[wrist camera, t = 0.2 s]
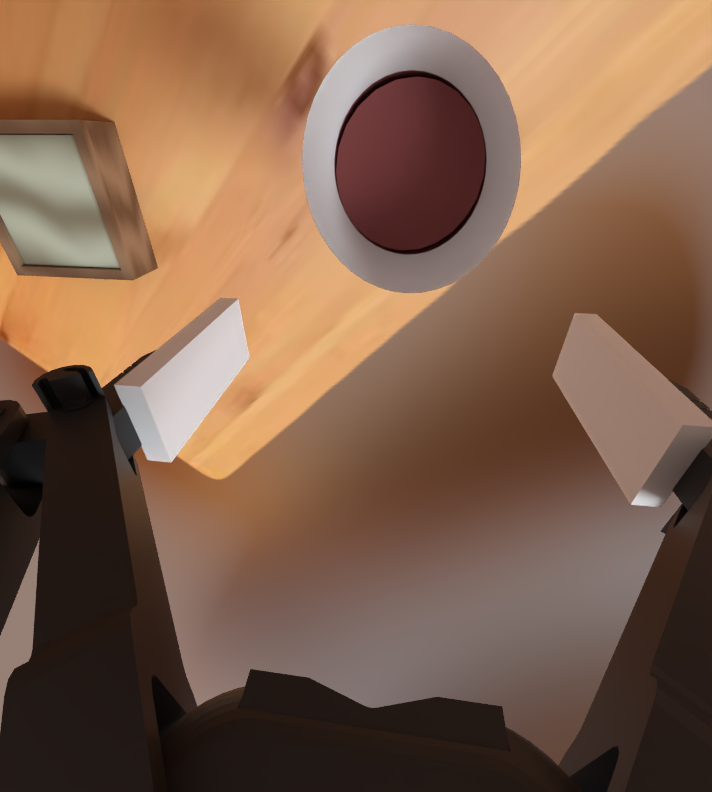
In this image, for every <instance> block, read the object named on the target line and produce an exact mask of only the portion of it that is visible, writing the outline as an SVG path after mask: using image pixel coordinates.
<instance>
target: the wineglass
mask: <svg viewBox="0 0 712 792" xmlns="http://www.w3.org/2000/svg"><path fill="white" fill-rule="evenodd" d="M302 167H303V181H304V186H305V192H306V197H307V201H308V204H309V207H310V210H311V214H312V217H313V219H314V221H315V223H316V226H317V228H318V230H319V232H320V234H321V236H322V237H323V239H324V240H325V242H326V244H327V245H328V247H329V248H330V250H331V251H332V252H333V253H334V254H335V256H336V257H337V258H338V259H339V260H340V262H342V263H343V264H344V265H345V266H346V267H347V268H348V269H349V270H350V271H351V272H353V273H354V274H356V275H357V276H359V277H360V278H362V279H363V280H364V281H367V282H369V283H371V284H373V285H375V286H377V287H380V288H383V289H386V290H390V291H394V292H402V293H422V292H427V291H432V290H436V289H439V288H442V287H444V286H447V285H450V284H451V283H453V282H455V281H457V280H459V279H460V278H462V277H464V276H465V275H466V274H468V273H469V272H470V271H471V270H473V269H474V268H475V267H476V266H477V265H478V264H479V263H480V262H481V261H482V260H483V259H484V258H485V257H486V256H487V255H488V254H489V252H490V251H491V250H492V248H493V247H494V245H495V244H496V243H497V241H498V240H499V238H500V236H501V234H502V232H503V230H504V229H505V227H506V225H507V223H508V220H509V217H510V215H511V212H512V209H513V207H514V204H515V199H516V195H517V191H518V186H519V179H520V168H521V148H520V137H519V131H518V125H517V120H516V116H515V113H514V110H513V107H512V104H511V101H510V98H509V96H508V94H507V92H506V90H505V88H504V86H503V84H502V82H501V80H500V78H499V76H498V75H497V74H496V72H495V71H494V70H493V68H492V67H491V66H490V64H489V63H488V62H487V60H486V59H485V58H484V57H483V56H482V55H481V54H480V53H479V52H478V51H476V50H475V49H474V48H473V47H472V46H471V45H470V44H469V43H467V42H465V41H464V40H462V39H460V38H459V37H457V36H455V35H454V34H452V33H450V32H447V31H444V30H441V29H438V28H435V27H432V26H424V25H413V24H409V25H401V26H394V27H389V28H386V29H383V30H381V31H378V32H375V33H373V34H370V35H369V36H367V37H366V38H364V39H363V40H361V41H359V42H358V43H356V44H355V45H353V46H352V47H351V48H350V49H349V50H348V51H347V52H346V53H345V54H344V55H343V56H341V57H340V58H339V59H338V60H337V62H336V63H335V64H334V66H333V67H332V68H331V70H330V71H329V72H328V74H327V75H326V76H325V78H324V80H323V82H322V84H321V86H320V88H319V89H318V91H317V93H316V95H315V97H314V100H313V103H312V106H311V109H310V112H309V115H308V118H307V123H306V128H305V133H304V138H303V153H302Z"/></svg>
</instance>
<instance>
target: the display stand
mask: <svg viewBox="0 0 712 792" xmlns="http://www.w3.org/2000/svg"><path fill="white" fill-rule="evenodd" d="M0 242H1V244H2V246H3V248H4V250H5V252H6V254H7V256H8V258H9V260H10V262H11V264H12V265H13V267H14V269H15V271H16V273H17V275H26V276H48V277H71V278H94V279H117V280H135V279H137V278H139V277H141V276H143V275H145V274H147V273H149V272H151V271H153V270H155V269H157V268H158V267H157V263H156V260H155V257H154V253H153V250H152V247H151V243H150V240H149V237H148V233H147V230H146V226H145V223H144V220H143V216H142V213H141V210H140V206H139V203H138V200H137V196H136V193H135V190H134V186H133V183H132V180H131V176H130V173H129V170H128V166H127V163H126V160H125V156H124V153H123V150H122V146H121V143H120V140H119V136H118V133H117V130H116V126H115V123H114V122H105V121H91V120H0Z"/></svg>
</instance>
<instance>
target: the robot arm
mask: <svg viewBox="0 0 712 792" xmlns="http://www.w3.org/2000/svg"><path fill="white" fill-rule="evenodd" d="M248 359H249V353H248V347H247V342H246V337H245V332H244V326H243V321H242V316H241V311H240V305H239V300H238V299H233V298H220V299H219V300H217V301H216V302H215V303H214V304H212V305H211V306H210V307H209V308H207V309H206V310H205V311H204V312H203V313H201V314H200V315H199V316H198V317H196V318H195V319H194V320H193V321H192V322H190V323H189V324H188V325H187V326H185V327H184V328H183V329H182V330H181V331H179V332H178V333H177V334H176V335H174V336H173V337H172V338H171V339H169V340H168V341H167V342H166V343H165V344H163V345H162V346H161V347H160V348H158V349H157V350H155V351H153V352H151V353H149V354H146V355H144V356H142V357H141V358H139V359H138V360H137V361H136V362H134V363H133V364H132V366H129V367H128V368H127V369H126V370H124V373H121V374H119V375H118V376H117V377H116V378H114V379H113V380H112V381H111V382H109V383H108V384H107V385H105V386H104V387H103V388H101V386H100V384H99V382H98V380H97V378H96V376H95V374H94V372H93V370H92V369H91V367H88V366H85V365H72V366H66V367H62V368H58V369H55V370H52V371H50V372H47V373H45V374H43V375H42V376H40V377H39V378H37V379H36V380H35V381H34V383H33V384H32V386H33V388H34V390H35V391H36V393H37V394H38V396H39V398H40V399H41V401H42V403H43V404H44V406H45V407H46V409H47V411H48V412H42V413H35V414H26V413H25V412H24V410H23V409H22V408H21V406H20V404H19V403H18V402H17V401H12V400H3V401H0V635H1V632H2V630H3V627H4V625H5V623H6V620H7V618H8V615H9V612H10V610H11V608H12V605H13V603H14V600H15V598H16V595H17V593H18V590H19V588H20V585H21V582H22V580H23V578H24V575H25V573H26V570H27V568H28V565H29V563H30V560H31V558H32V556H33V553H34V551H35V548H36V546H37V543H38V540H39V538H40V542H39V557H38V573H37V589H36V605H35V620H34V637H33V650H32V655H31V658H30V660H29V662H27V663H25V664H23V665H21V666H19V667H17V668H15V669H14V671H13V672H12V674H11V676H10V677H9V679H8V682H7V687H6V692H5V696H4V704H3V713H2V722H1V732H0V792H712V411H710V408H709V407H707V406H706V405H705V404H704V403H703V402H700V400H699V399H698V398H697V397H696V396H695V395H694V394H693V393H692V392H690V391H689V390H688V389H687V388H685V387H683V386H681V385H679V384H677V383H675V382H674V381H672V380H670V379H666V378H665V377H664V376H663V375H662V374H661V373H660V372H659V371H657V369H655V368H654V367H653V366H652V365H651V364H650V363H649V362H648V361H647V360H646V359H644V358H643V357H642V356H641V355H640V354H639V353H638V352H637V351H636V350H635V349H634V348H633V347H631V346H630V345H629V344H628V343H627V342H626V341H625V340H624V339H623V338H622V337H621V336H619V335H618V334H617V333H616V332H615V331H614V330H613V329H612V328H611V327H610V326H609V325H607V324H606V323H605V322H604V321H603V320H602V319H601V318H600V317H599V316H598V315H597V314H580V313H575V314H574V317H573V320H572V322H571V325H570V328H569V331H568V333H567V336H566V339H565V342H564V345H563V348H562V350H561V353H560V356H559V359H558V361H557V364H556V367H555V370H554V373H553V378H554V380H555V381H556V383H557V384H558V386H559V388H560V390H561V391H562V393H563V395H564V396H565V398H566V399H567V401H568V403H569V404H570V406H571V408H572V409H573V411H574V413H575V414H576V416H577V417H578V419H579V421H580V422H581V424H582V426H583V427H584V429H585V430H586V432H587V434H588V435H589V437H590V439H591V440H592V442H593V444H594V445H595V447H596V449H597V450H598V452H599V454H600V455H601V457H602V458H603V460H604V462H605V463H606V465H607V467H608V468H609V470H610V471H611V473H612V475H613V476H614V478H615V480H616V481H617V483H618V485H619V486H620V488H621V489H622V491H623V493H624V494H625V496H626V498H627V499H628V501H629V503H630V504H631V505H641V506H652V507H662V506H663V504H664V503H665V501H666V500H667V499H668V497H669V496H670V495H671V493H672V492H674V493H675V494H676V496H677V497H678V498H679V500H680V501H681V502H682V504H681V506H680V507H679V508H678V510H677V511H676V512H675V514H674V515H673V516H672V517H671V518H670V520H669V521H668V522H667V524H666V525H665V526H664V527H663V529H662V530H661V532H663V533H665V537H664V539H663V542H662V544H661V546H660V548H659V550H658V553H657V555H656V557H655V560H654V562H653V564H652V567H651V569H650V571H649V573H648V576H647V578H646V580H645V583H644V585H643V587H642V590H641V592H640V594H639V597H638V599H637V601H636V603H635V606H634V608H633V610H632V613H631V615H630V617H629V619H628V622H627V624H626V627H625V629H624V631H623V633H622V635H621V638H620V640H619V642H618V645H617V647H616V649H615V652H614V654H613V656H612V659H611V661H610V663H609V666H608V668H607V670H606V672H605V675H604V677H603V679H602V681H601V684H600V686H599V688H598V691H597V693H596V695H595V698H594V700H593V702H592V704H591V707H590V709H589V711H588V714H587V716H586V718H585V721H584V723H583V725H582V727H581V729H580V731H579V733H578V735H577V737H576V738H575V740H574V741H573V743H572V744H571V746H570V747H569V749H568V750H567V752H566V753H565V755H564V757H563V758H562V760H561V762H560V764H559V766H558V765H557V764H556V763H555V762H554V761H553V760H552V759H551V758H550V757H549V756H548V755H546V754H545V753H544V752H543V751H541V750H540V749H539V748H538V747H536V746H535V745H534V744H533V743H531V742H530V741H529V740H527V739H525V738H524V737H522V736H521V735H519V734H518V733H516V732H515V731H513V730H511V729H509V728H507V727H505V721H504V716H503V709H502V706H495V705H488V704H481V703H474V702H467V701H461V700H455V699H447V698H441V697H434V698H429V699H424V700H418V701H412V702H406V703H401V704H395V705H390V706H384V707H379V708H369V707H366V706H363V705H361V704H359V703H357V702H355V701H354V700H352V699H350V698H348V697H346V696H344V695H342V694H340V693H338V692H336V691H334V690H332V689H330V688H328V687H326V686H324V685H322V684H320V683H318V682H316V681H314V680H312V679H310V678H307V677H300V676H293V675H287V674H280V673H273V672H266V671H259V670H253V669H251V670H250V673H249V676H248V679H247V682H246V686H245V687H241V688H237V689H234V690H231V691H228V692H225V693H222V694H220V695H218V696H216V697H214V698H212V699H210V700H208V701H206V702H204V703H203V704H201V705H199V706H198V707H197V704H196V701H195V698H194V695H193V692H192V690H191V687H190V685H189V682H188V680H187V677H186V674H185V670H184V667H183V663H182V659H181V654H180V650H179V645H178V641H177V636H176V632H175V627H174V623H173V619H172V614H171V610H170V605H169V601H168V596H167V592H166V588H165V583H164V579H163V574H162V570H161V566H160V561H159V557H158V552H157V548H156V544H155V539H154V535H153V530H152V526H151V522H150V517H149V513H148V509H147V504H146V500H145V495H144V491H143V487H142V482H141V478H140V473H139V469H138V465H137V462H136V460H135V458H134V455H133V454H134V453H135V452H136V451H137V450H138V449H139V448H140V447H141V446H142V448H143V451H144V453H145V455H146V457H147V460H151V461H162V462H172V461H173V459H174V458H175V457H176V455H177V454H178V453H179V451H180V450H181V449H182V447H183V446H184V445H185V443H186V442H187V441H188V439H189V438H190V437H191V435H192V434H193V433H194V431H195V430H196V429H197V427H198V426H199V425H200V423H201V422H202V421H203V419H204V418H205V417H206V415H207V414H208V413H209V411H210V410H211V409H212V407H213V406H214V405H215V403H216V402H217V401H218V399H219V398H220V397H221V395H222V394H223V393H224V391H225V390H226V389H227V387H228V386H229V385H230V383H231V382H232V381H233V379H234V378H235V377H236V375H237V374H238V373H239V371H240V370H241V369H242V367H243V366H244V365H245V363H246V362H247V361H248Z"/></svg>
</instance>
